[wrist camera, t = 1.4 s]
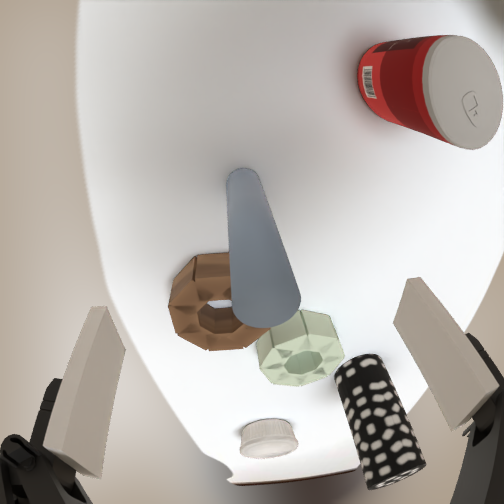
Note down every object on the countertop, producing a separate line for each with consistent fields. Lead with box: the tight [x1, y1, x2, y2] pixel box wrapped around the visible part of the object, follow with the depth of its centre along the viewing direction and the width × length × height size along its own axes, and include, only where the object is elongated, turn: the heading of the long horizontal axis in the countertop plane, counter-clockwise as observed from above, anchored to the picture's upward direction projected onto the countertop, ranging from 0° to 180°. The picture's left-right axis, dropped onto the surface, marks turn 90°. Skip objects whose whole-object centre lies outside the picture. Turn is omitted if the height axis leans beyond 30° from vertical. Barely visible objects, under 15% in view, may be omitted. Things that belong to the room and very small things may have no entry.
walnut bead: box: [168, 253, 270, 351], centre depth 31 cm, size 10×10×4 cm
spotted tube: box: [334, 354, 426, 490], centre depth 35 cm, size 8×8×20 cm
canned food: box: [357, 35, 503, 150], centre depth 17 cm, size 8×8×11 cm
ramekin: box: [240, 419, 298, 459], centre depth 50 cm, size 11×11×5 cm
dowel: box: [226, 168, 301, 328], centre depth 20 cm, size 3×3×16 cm
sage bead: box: [257, 310, 345, 386], centre depth 36 cm, size 10×10×4 cm
